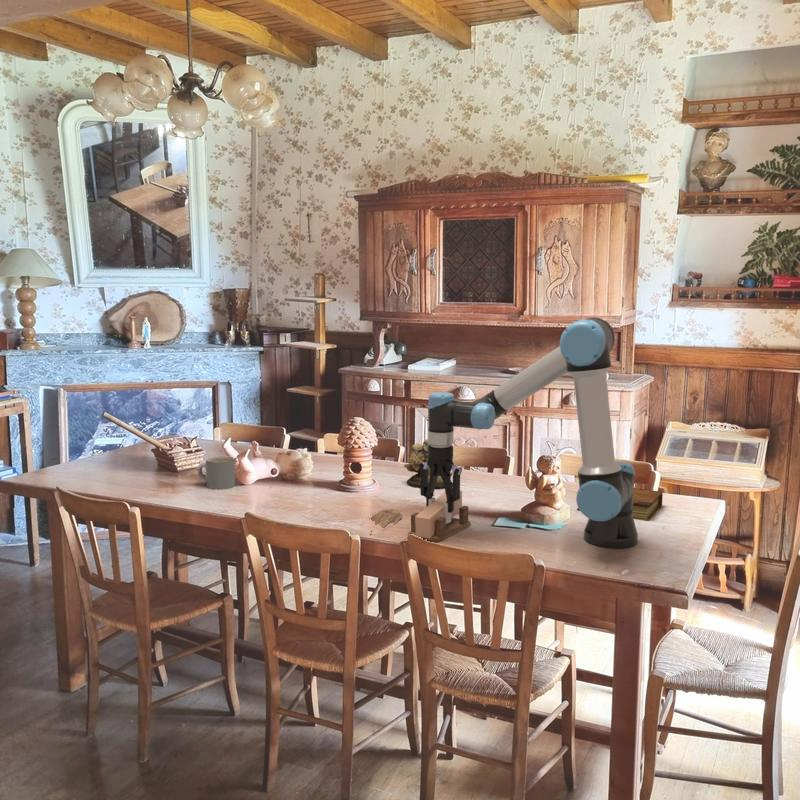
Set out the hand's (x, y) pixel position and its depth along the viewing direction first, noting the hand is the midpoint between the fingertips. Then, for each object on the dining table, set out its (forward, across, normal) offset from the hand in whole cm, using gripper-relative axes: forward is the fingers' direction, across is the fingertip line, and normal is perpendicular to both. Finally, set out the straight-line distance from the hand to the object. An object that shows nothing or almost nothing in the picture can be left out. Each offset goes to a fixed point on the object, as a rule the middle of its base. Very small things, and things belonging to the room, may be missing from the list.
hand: (439, 520), depth 251 cm
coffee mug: (+4, +94, -2) cm, 94 cm away
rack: (+3, 0, 0) cm, 3 cm away
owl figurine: (+3, +30, -44) cm, 53 cm away
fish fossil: (+4, +20, +3) cm, 20 cm away
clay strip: (0, 0, 0) cm, 0 cm away
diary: (+4, -38, -52) cm, 65 cm away
